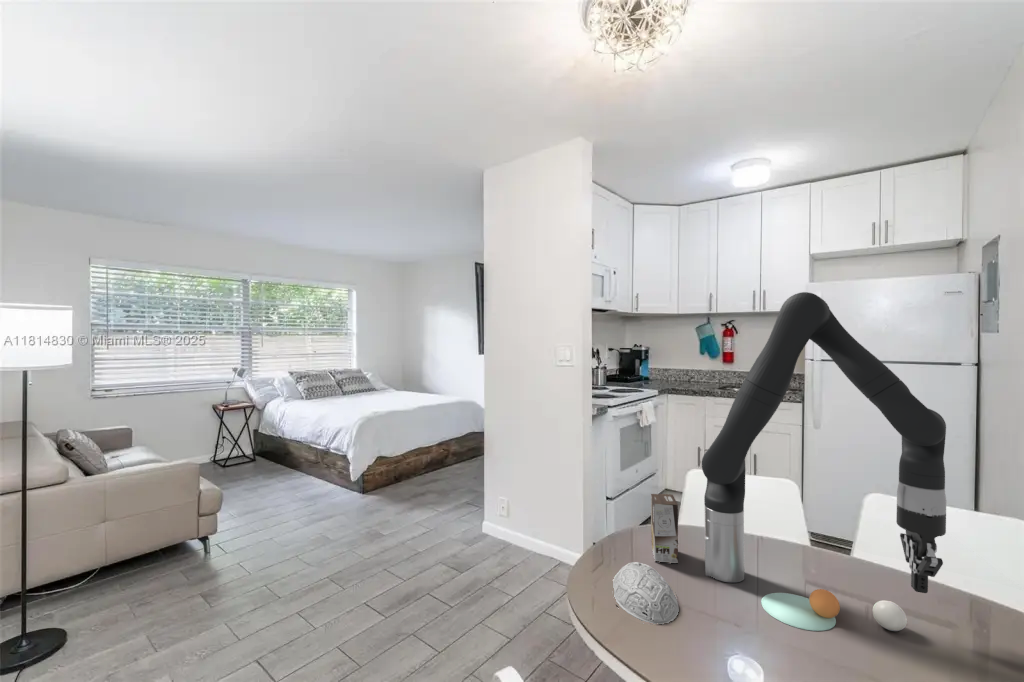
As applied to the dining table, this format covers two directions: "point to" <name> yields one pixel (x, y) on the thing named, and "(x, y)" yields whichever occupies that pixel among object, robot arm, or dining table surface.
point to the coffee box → (664, 527)
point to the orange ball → (824, 603)
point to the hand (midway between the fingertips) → (919, 590)
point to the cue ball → (889, 615)
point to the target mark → (795, 612)
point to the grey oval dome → (645, 593)
